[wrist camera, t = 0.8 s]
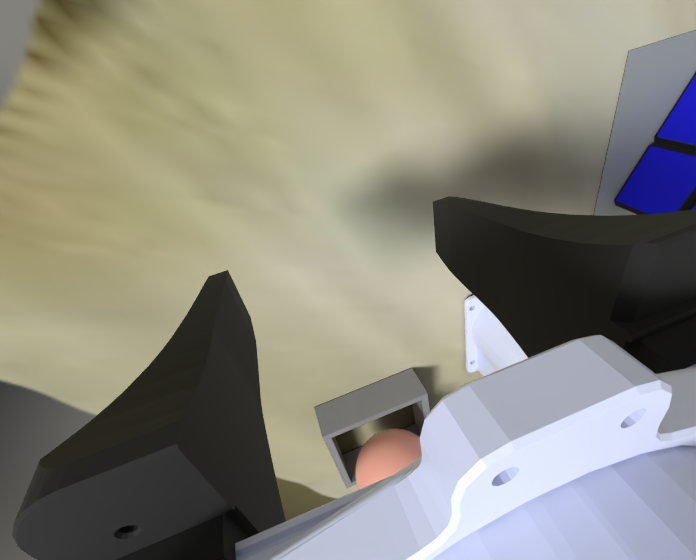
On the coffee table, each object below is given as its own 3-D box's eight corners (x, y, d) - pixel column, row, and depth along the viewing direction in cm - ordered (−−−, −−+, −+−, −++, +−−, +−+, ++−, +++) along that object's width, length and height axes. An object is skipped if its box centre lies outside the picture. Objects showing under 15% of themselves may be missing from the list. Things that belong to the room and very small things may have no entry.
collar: (421, 424, 39) (434, 449, 37) (338, 459, 38) (346, 488, 35) (411, 367, 33) (427, 393, 31) (314, 407, 32) (322, 437, 30)
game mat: (686, 297, 42) (687, 298, 41) (564, 349, 40) (565, 350, 40) (826, -11, 25) (827, -12, 25) (628, 51, 23) (630, 51, 23)
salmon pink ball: (419, 441, 36) (457, 515, 31) (353, 470, 35) (380, 551, 30) (412, 400, 32) (454, 476, 27) (337, 431, 31) (364, 517, 26)
